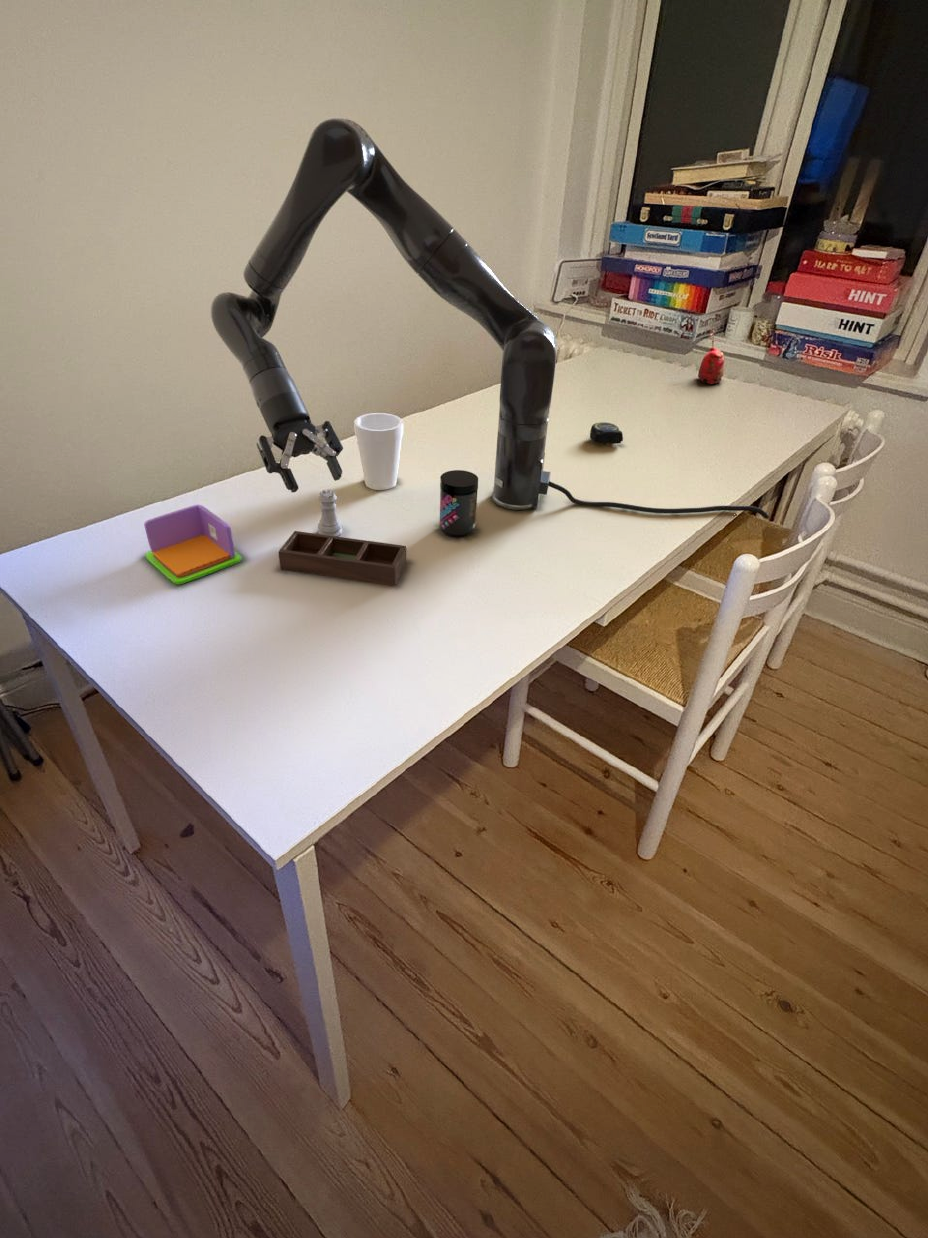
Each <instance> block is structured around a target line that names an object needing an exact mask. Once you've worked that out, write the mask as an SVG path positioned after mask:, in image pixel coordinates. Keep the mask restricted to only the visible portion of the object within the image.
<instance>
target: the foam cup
mask: <svg viewBox="0 0 928 1238" xmlns="http://www.w3.org/2000/svg"><path fill="white" fill-rule="evenodd" d="M353 426H354V427H353V428H354V434H355V437H356V441H357V446H358V453H359V458H360V462H361V469H362V474H363V479H364V483H365V486H366V487H367V488H369V489H371V490H375V491H386V490H390V489H392V488H395V486H396V485H397V481H398V473H399V466H400V465H399V464H400V456H401V447H402V440H403V439H402V438H403V435H404V421H403V419H402V418H401V417H399V416H398V415H395V414H390V413H387V412H373V413H372V412H371V413H364V414H362V415H360V416H357V417H356V418H355V420H353Z"/></svg>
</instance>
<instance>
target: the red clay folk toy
mask: <svg viewBox="0 0 928 1238" xmlns="http://www.w3.org/2000/svg"><path fill="white" fill-rule="evenodd" d="M711 329H712V331H711V330H710V331H709V334H708V336H709V338H711V337H712V340H711V343H712V346H711V347H710V349H709V350H708V352H707V353H706V354H705V355H704V356H703V358H702V360H701V362H700V366H699V370H698V371H697V372H698V373H697V378H698V379H699V380H700V381H701V382H702V383H706V384H708V385H714V384H718V383H720V382H721V381H722V377H724V373H725V359H724V353H723V352H722V351H721V349H719V348H715V346H714V345H715V341H716V340H715V339H714V338H715V335H714V334H715V333H716V332H719V331H718V329H716V330H714V327H713V326H711Z"/></svg>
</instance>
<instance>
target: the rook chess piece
mask: <svg viewBox="0 0 928 1238" xmlns="http://www.w3.org/2000/svg"><path fill="white" fill-rule="evenodd" d="M317 499H318V501H319V502H320V505H319V507H320V509H321V514H320V515H321V516H320V520H319V522H318V524H317V534H322V535H329V536H337V537H340V536H341V534H342V533H343V531H344V530H343V528H342V527H343V525H342V522H341V521H340V519H339V518H338V516H337V511H336V507H337V504H336V500H337V499H338V496H337V495H336V494H335V491H334V490H331V489H327V491H326V489H323V490H322V491H319V496H317Z"/></svg>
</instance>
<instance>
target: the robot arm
mask: <svg viewBox="0 0 928 1238" xmlns="http://www.w3.org/2000/svg"><path fill="white" fill-rule="evenodd" d="M346 193H347V194H349V195H350V196H351V197H353V198H354V199H355V200H356V201H358V202H359V203H360V204H361V205H362V206H363V207H364V208H365V209H366V210H367V211H368V212H369V213H370V214H371V215H372V216H373V217H374V218H375V219H376V220H377V221H378V222H379V224H380V225H381V226H382V228H383V229H384V230H385V232H386V234H387V235H388V237H389V238H390V240H391V241H392V243H393V245H394V247H396V249H397V251H398V252H399V254H400V255H401V256H402V258H403V259H404V261H405V262H406V263H407V265H408V266H409V267H410V268H411V269H412V270H413V272H414V273H415V274H416V275H417V276H418V277H419V278H420V279H421V280H422V281H423V283H425V284H426V285H427V286H428V287H429V288H430V289H431V290H432V291H433V292H434V293H435V294H436V295H437V296H439V297H440V298H441V299H442V300H444V301H445V302H446V303H448V304H449V305H451V306H453V307H454V308H456V309H457V310H459V311H460V312H462V313H463V314H465V315H467V316H468V317H470V318H471V319H473V320H474V321H475V322H476V323H478V324H479V325H480V326H481V327H482V328H483V329H484V330H485V331H486V332H487V333H488V334H489V336H490V337H491V338H492V339H493V340H494V341H495V343H496V344H497V345H498V347H499V348H500V349H501V351H502V358H501V372H500V385H499V386H500V390H499V411H498V424H497V437H496V451H495V464H494V478H493V487H492V497H491V498H492V501H493V502H494V503H495V504H496V505H497V506H499V507H501V508H503V509H506V510H507V509H508V510H511V511H525V510H530V509H535V510H537V509H538V507H539V504H540V498H541V495H544V496H547V495H548V491H549V487H550V488H552V489H554V490H556V491H559V492H561V493H563V495H565V496H566V497H567V499H568V500H569V501H570V502H571V503H572V504H575V505H578V506H583V507H592V508H593V507H594V508H617V509H623V510H624V509H625V510H630V511H636V512H642V513H651V514H693V513H695V514H696V513H708V512H709V513H710V512H717V511H718V512H719V511H729V512H731V511H733V512H734V511H735V512H745V511H746V512H754V513H756V514H758V515H760V516H761V517H762V518H763V519H770V516H769V515H768V513H767V512H766V511H765V510H763V509H762V508H760V507H757V506H753V505H712V506H701V507H680V508H679V507H677V508H662V507H661V508H660V507H647V506H642V505H641V506H640V505H636V504H635V505H634V504H629V503H622V502H614V501H584V500H580V499H578V498H575V497H574V496H573V494H572V493H571V492H570V491H569V490H568V489H566V488H565V487H564V486H561V485H560V484H558V483H555V482H552V481H551V471H546V470H545V471H544V467H545V458H546V445H547V443H546V442H547V436H548V435H547V434H548V426H549V419H550V410H551V406H552V397H553V396H552V395H553V388H554V381H555V374H556V366H557V341H556V336H555V335H554V333H553V331H552V330H551V328H550V327H549V326H548V325H547V324H546V323H545V322H544V321H542V320H541V319H540V318H539V317H538V316H536V315H535V314H534V313H532V311H530V310H529V309H528V308H527V307H526V306H525V305H524V304H522V303H521V302H520V301H519V300H518V299H517V298H516V297H515V296H513V294H512V293H510V291H509V290H508V289H507V288H506V287H505V286H504V284H502V282H501V280H499V278H498V277H497V275H496V274H495V273H494V272H493V270H492V269H491V268H490V267H489V266H488V264H487V263H486V262H485V261H484V260H483V259H482V257H481V256H480V255H479V254H478V253H477V252H476V251H475V249H474V248H473V247H472V246H471V245H470V243H468V241H467V240H466V239H465V238H464V237H463V236H462V235H461V234H460V233H459V232H458V231H457V229H455V228H454V226H453V225H452V224H450V223H449V221H447V220H446V219H445V218H444V217H443V215H441V213H439V212H438V210H436V209H435V207H433V206H432V205H431V204H430V203H429V202H428V201H426V199H425V198H423V197H422V196H421V195H420V194H419V193H418V192H416V191H415V190H414V188H412V187H411V186H410V185H409V184H408V182H407V181H405V179H404V178H402V176H401V175H400V174H399V172H398V171H397V169H395V168H394V166H393V165H392V164H391V162H390V161H389V160H388V158H387V157H386V156H385V154H384V153H383V152H382V151H381V149H380V147H378V145H377V143H375V141H374V140H373V139H372V137H371V136H370V134H369V133H368V132H367V131H366V130H365V129H364V128H363V127H362V126H361V125H360V124H358V123H357V122H355V121H353V120H351V119H348V118H329V119H326V120H323V121H322V122H319V124H317V126H316V127H314V129H313V131H312V133H311V135H310V137H309V139H308V142H307V145H306V148H305V150H304V152H303V156H302V158H301V160H300V163H299V166H298V169H297V171H296V174H295V176H294V179H293V181H292V182H291V185H290V188H289V190H288V192H287V194H286V196H285V197H284V200H283V202H282V204H281V205H280V207H279V209H278V211H277V213H276V214H275V216H274V217H273V219H272V221H271V223H270V224H269V226H268V228H267V229H266V231H265V232H264V234H263V236H262V237H261V239H260V240H259V242H258V244H257V245H256V247H255V249H254V251H253V252H252V254H251V256H250V257H249V259H248V261H247V262H246V264H245V266H244V268H243V271H242V277H243V279H244V283H245V284H246V285H247V286H248V288H249V289H251V291H250V293H249V294H248V296H246V295H241V294H239V293H234V292H230V291H224V292H220V293H218V294H216V295H215V296H214V297H213V299H212V301H211V303H210V309H209V310H210V311H209V312H210V319H211V323H212V326H213V329H214V330H215V332H216V334H217V335H218V337H219V338H220V339H221V341H222V342H223V344H224V345H225V346H226V348H227V349H228V350H229V352H230V353H231V354H232V355H233V357H234V358H235V359H236V360H237V361H238V363H239V364H240V366H241V368H242V371H243V373H244V375H245V378H246V379H247V382H248V383H249V386H250V388H251V392H252V395H253V398H254V400H255V404H256V407H257V408H258V409H259V411H260V414H261V416H262V418H263V420H264V423H265V424H266V427H267V429H268V432H269V433H270V434H271V436H266V435H260V436H259V438H258V440H257V442H256V447H257V450H258V452H259V454H260V458H261V460H262V462H263V465H264V468H265V471H266V472H267V473H268V474H273V473H275V474H279V476H280V477H281V480H282V482H283V484H284V486H285V488H286V489H287V490H288V491H290V492H291V493H296V492H297V491H298V490H299V484H298V482H297V479H296V478H295V476H294V474H293V471H292V469H291V468H289V464H290V461H291V457H293V458H297V457H299V456H302V455H305V456H306V455H310V454H311V453H312V454H313V455H315V456H317V457H319V458H322V459H323V460H325V461H326V466H327V467H328V470H329V472H330V474H331V476H332V478H333V480H334V482H335V481H339V480H340V479H341V478H342V474H343V469H342V467H341V465H340V462H339V460H338V457H339V455H340V454H341V453H342V452H343V450H344V446H343V444H342V442H341V440H340V439H339V436H338V435H337V433H336V431H335V429H334V428H333V425H332V424H331V422H330V421H329V420H325V421H324V422H323V423H322V424H319V425H315V424H314V423H313V422H312V421H311V416H310V414H309V411H308V410H307V407H306V405H305V403H304V401H303V399H302V398H303V397H302V396H301V394H300V392H299V390H298V387H297V385H296V384H295V381H294V379H293V378H292V376H291V375H290V373H289V371H288V369H287V367H286V364H285V362H284V360H283V358H282V356H281V353H280V351H279V350H278V348H277V346H276V345H275V344H274V343H272V342H271V341H269V340H267V339H265V338H264V337H265V336H266V335H267V334H268V333H269V332H270V330H271V328H272V326H273V324H274V321H275V317H276V314H277V311H278V308H279V305H280V302H281V297H282V294H283V292H284V291H285V290H286V288H287V287H288V286H289V284H290V282H291V280H292V279H293V277H294V276H295V274H296V273H297V271H298V269H299V268H300V266H301V264H302V263H303V260H304V258H305V256H306V254H307V252H308V249H309V247H310V245H311V242H312V240H313V238H314V236H315V234H316V232H317V230H318V228H319V226H320V225H321V223H322V221H324V218H325V217H326V215H327V214H328V213H329V211H330V210H331V209H332V208H333V206H335V204H336V203H337V202H338V201H339V200H340V199H341V198H342V196H344V194H346ZM318 434H319V435H320V437H321V438H324V440H325V441H324V440H322V439H321V438H319V437H318ZM273 446H275V447H276V448H278V449H279V450H281V454H280V456H279V462H277V461H276V458H275V456H274V453H273V451H272V448H273Z"/></svg>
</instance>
